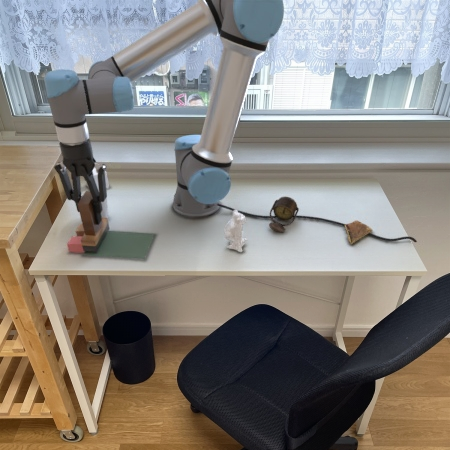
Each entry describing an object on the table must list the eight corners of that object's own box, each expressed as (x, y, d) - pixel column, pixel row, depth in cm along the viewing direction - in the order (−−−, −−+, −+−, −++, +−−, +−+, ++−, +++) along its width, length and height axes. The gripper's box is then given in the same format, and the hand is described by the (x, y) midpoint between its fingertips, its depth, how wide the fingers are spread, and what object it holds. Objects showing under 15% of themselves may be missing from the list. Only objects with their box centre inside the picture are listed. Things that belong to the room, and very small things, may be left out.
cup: (101, 232, 134) (96, 209, 129) (77, 229, 135) (71, 206, 130) (114, 214, 142) (110, 192, 137) (91, 212, 143) (86, 189, 138)
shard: (350, 246, 129) (351, 241, 128) (330, 235, 134) (331, 230, 133) (372, 233, 135) (374, 228, 133) (352, 223, 139) (354, 218, 138)
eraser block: (89, 244, 128) (86, 236, 127) (84, 252, 125) (81, 243, 124) (74, 245, 129) (71, 236, 127) (70, 252, 126) (66, 244, 124)
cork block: (96, 232, 134) (94, 223, 132) (92, 239, 131) (89, 230, 129) (82, 232, 134) (79, 224, 132) (78, 239, 131) (75, 231, 129)
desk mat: (154, 234, 133) (154, 233, 133) (144, 260, 124) (144, 258, 123) (97, 231, 135) (97, 230, 134) (82, 256, 125) (82, 254, 125)
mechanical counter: (310, 205, 136) (286, 188, 140) (286, 217, 129) (261, 199, 132) (302, 224, 141) (279, 207, 145) (278, 236, 134) (254, 218, 137)
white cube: (109, 188, 156) (106, 172, 152) (93, 192, 154) (90, 176, 150) (102, 181, 160) (99, 165, 156) (86, 185, 157) (83, 170, 153)
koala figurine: (248, 254, 126) (250, 217, 118) (225, 255, 126) (225, 218, 118) (245, 238, 132) (247, 202, 124) (223, 238, 132) (223, 203, 124)
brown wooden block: (97, 251, 124) (86, 209, 115) (83, 251, 125) (72, 208, 115) (109, 228, 133) (100, 187, 124) (96, 227, 133) (87, 186, 124)
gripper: (110, 135, 111) (123, 216, 127) (49, 133, 113) (69, 213, 128) (101, 147, 106) (116, 230, 121) (36, 144, 107) (60, 227, 122)
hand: (92, 221), depth 125 cm, fingers closed on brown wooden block, 3 cm apart
